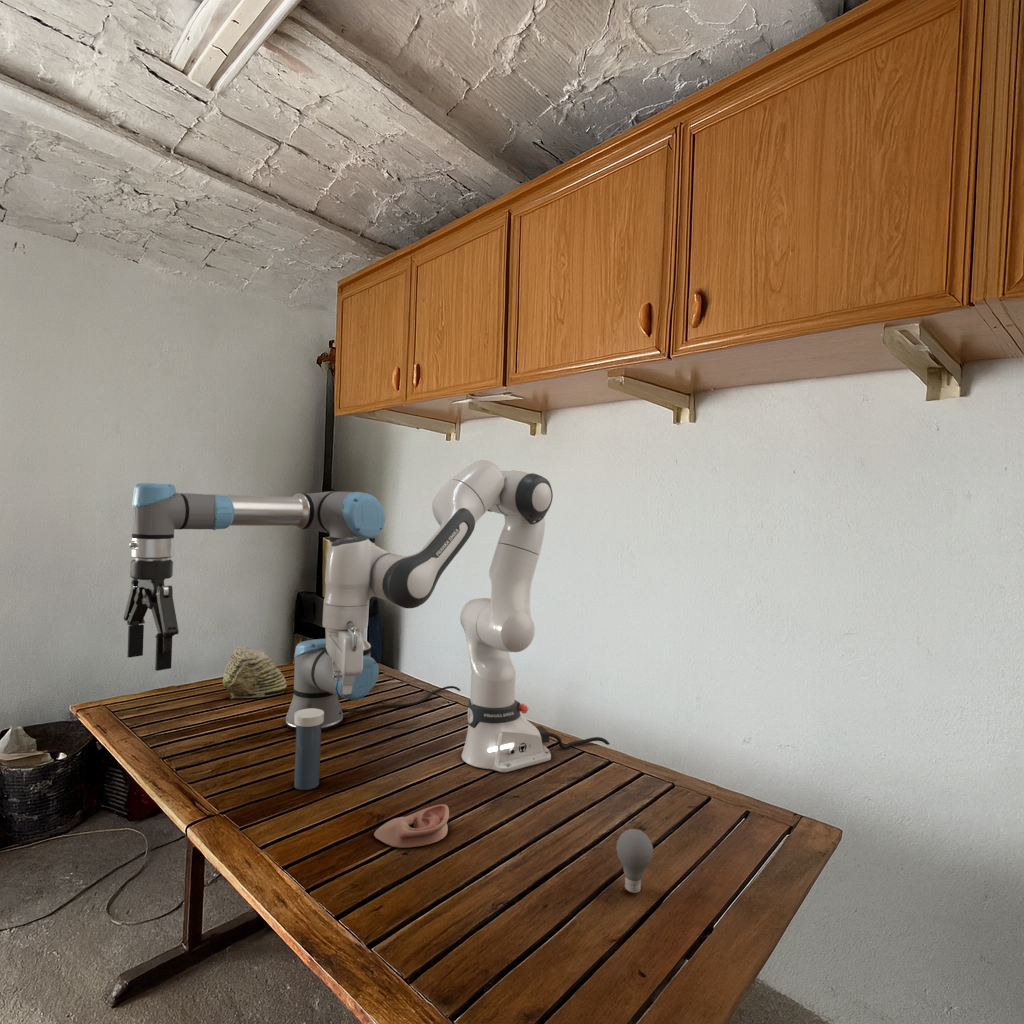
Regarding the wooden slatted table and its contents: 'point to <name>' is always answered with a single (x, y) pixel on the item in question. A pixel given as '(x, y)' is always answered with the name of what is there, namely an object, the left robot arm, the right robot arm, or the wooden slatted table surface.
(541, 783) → the wooden slatted table surface
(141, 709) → the wooden slatted table surface
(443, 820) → the anatomical model
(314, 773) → the jar
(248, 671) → the fossil
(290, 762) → the wooden slatted table surface
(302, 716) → the lid
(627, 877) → the light bulb
